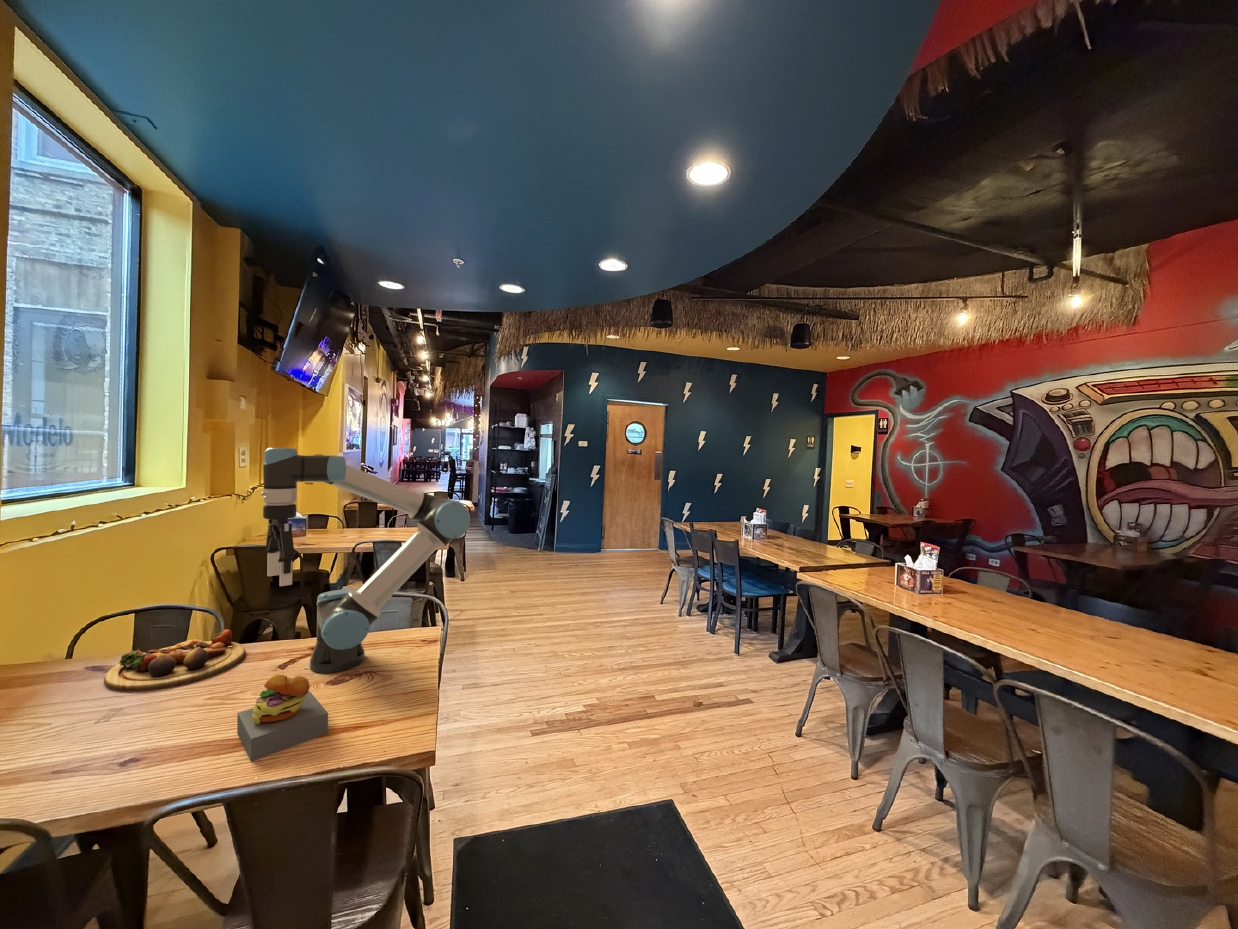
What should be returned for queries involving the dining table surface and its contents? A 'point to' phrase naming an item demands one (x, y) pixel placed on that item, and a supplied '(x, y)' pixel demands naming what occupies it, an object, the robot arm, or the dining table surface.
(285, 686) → the cheeseburger
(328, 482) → the robot arm
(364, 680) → the dining table surface
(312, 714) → the tray
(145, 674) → the wooden plate with food
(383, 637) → the dining table surface
